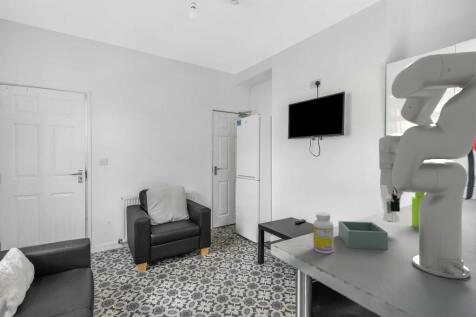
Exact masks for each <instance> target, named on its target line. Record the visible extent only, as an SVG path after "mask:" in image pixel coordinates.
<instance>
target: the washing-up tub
mask: <svg viewBox="0 0 476 317" xmlns="http://www.w3.org/2000/svg"><path fill="white" fill-rule="evenodd" d="M388 234H389V233H388V232H387V231H386V230H385V229H383V228H381V227H380V226H378V225H377V224H376V223H374V222H372V221H349V220H348V221H347V220H338V237H339V238H340V239H341V241H342V242H343V243H344V244H345V245H346V247H347V248H349V249H366V250H384V251H385V250H387V251H388V245H389V244H388V241H389V240H388Z"/></svg>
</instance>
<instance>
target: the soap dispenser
mask: <svg viewBox="0 0 476 317" xmlns="http://www.w3.org/2000/svg"><path fill="white" fill-rule="evenodd" d="M414 195H415V196H412V197H411V226H412V227H413V228H418V229H419V205H420V202H421V200H422V199H423V197H424V196H425V195H426V193H414Z"/></svg>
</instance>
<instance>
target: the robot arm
mask: <svg viewBox="0 0 476 317" xmlns="http://www.w3.org/2000/svg"><path fill="white" fill-rule="evenodd" d="M450 88H451V89H453V88H454V89H455V88H460V89H459V91H457V92H455V93H454V94H453V95H452V96H451V97H450V98H449V99H448V100H447V101H446V102H445V103H444V104H443V106H442V108H441V109H440V112H439V116H438V118H437V121H436V122H435V123H434V122H433V119H432V117H431V116H432V114H433V113H434V112H435V109H436V108H437V106H438V104H440V101H441V100H442V98H443V97H444V95H445V93H446V91H447V90H448V89H450ZM391 94H392V96H393V97H394V98H395V99H399V100H400V99H405V101H404V104H403V105H402V108H401V110H400V116H401V117H402V118H403V120H405V121H407V122H409V123H411V124H414V125H413V126H411V127H409V128H407V129H406V130H404V132H403V133H394V134H393V133H392V134H387V135H385V136H383V137H380V138H379V140H378V153H379V154H378V158H379V162H378V163H379V165H378V166H379V169H378V170H380V177H379V188H380V190H381V184H383V185H387V189H388V193H389V194H391V201H390V209H391V211H392V212H401V207H400V205H401V200H400V198H402V195H403V194H404V193H412V194H413V193H414V194H415V193H425V196H424V197H423V199H422V200H421V202H420V205H419V228H418V255H415V256H414V257H412V264H413V265H414V266H415V267H417V268H418V269H420V270H421V271H424V272H425V273H429V274H431V275H435V276H438V277H442V278H446V279H456V280H460V279H461V280H462V279H467V278H468V277H470V275H471V272H470V269H469V268H468V267H466V266H465V265H464V264H465V263H464V260H463V201H464V200H463V199H464V195H465V189H466V187H467V183H468V172H467V170H466V168H465V166H463V165H462V164H461V163H460V162H456V161H454V160H458V159H459V160H460V159H463V158H465V157H467V156H468V155H469V154H470V153H471V150H472V149H473V147H474V144H475V142H476V51H460V52H451V53H450V52H449V53H438V54H429V55H424V56H422V57H419V58H417V59H415V61H413V62H411V63H410V64H409V65H407V66H406V67H404V68H402V69H401V70H400V71H399V73H397V75H396V76H395V78H394V79H393V81H392V84H391ZM394 189H395V191H396V193H393V190H394ZM393 195H395V196H394V197H393ZM381 205H382V204H381ZM382 207H383V205H382Z"/></svg>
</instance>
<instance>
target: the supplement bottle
mask: <svg viewBox="0 0 476 317" xmlns="http://www.w3.org/2000/svg"><path fill="white" fill-rule="evenodd" d="M315 217H316V218H315V220H314V221H313V224H312V225H313V228H312V229H313V234H312V235H313V249H314V251H315V252H317V253H319V254H323V255H324V254H326V255H327V254H333V252H334V250H335V248H334V245H335V242H334V241H335V240H334V239H335V238H334V237H335V236H334V223H333V222H332V221H331V220H330V219H331V214H330V213H328V212H316V213H315Z"/></svg>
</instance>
